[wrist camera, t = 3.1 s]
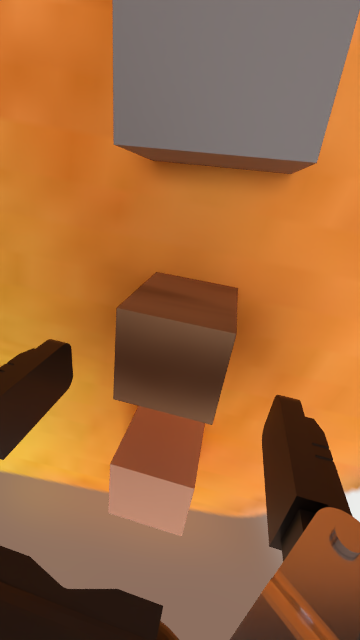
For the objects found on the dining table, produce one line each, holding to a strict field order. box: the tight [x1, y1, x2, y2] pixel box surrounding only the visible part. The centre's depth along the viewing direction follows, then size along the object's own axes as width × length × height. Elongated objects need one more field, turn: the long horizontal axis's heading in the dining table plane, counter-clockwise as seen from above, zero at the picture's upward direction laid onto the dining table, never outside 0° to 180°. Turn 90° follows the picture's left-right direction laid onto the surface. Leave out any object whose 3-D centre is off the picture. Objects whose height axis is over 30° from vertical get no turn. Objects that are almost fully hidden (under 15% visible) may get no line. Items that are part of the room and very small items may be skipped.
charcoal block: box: [113, 0, 360, 174], centre depth 10 cm, size 7×7×5 cm
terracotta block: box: [109, 406, 205, 536], centre depth 19 cm, size 5×5×6 cm
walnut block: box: [113, 272, 238, 425], centre depth 15 cm, size 5×5×6 cm
